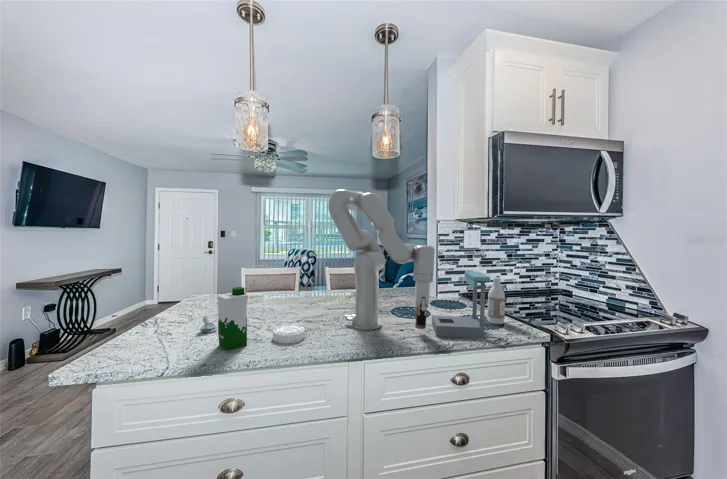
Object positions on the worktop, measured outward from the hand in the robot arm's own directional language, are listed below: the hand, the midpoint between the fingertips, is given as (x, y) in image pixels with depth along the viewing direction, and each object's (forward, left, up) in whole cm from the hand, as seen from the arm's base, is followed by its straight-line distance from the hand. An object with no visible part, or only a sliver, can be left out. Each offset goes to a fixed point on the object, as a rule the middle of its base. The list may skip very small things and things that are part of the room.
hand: (420, 322), depth 121 cm
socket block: (+15, +6, -5) cm, 17 cm away
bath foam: (+35, +20, -5) cm, 40 cm away
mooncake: (-50, -9, -5) cm, 51 cm away
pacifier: (-84, -6, -5) cm, 85 cm away
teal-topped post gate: (+22, +6, -5) cm, 24 cm away
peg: (0, 0, -2) cm, 2 cm away
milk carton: (-67, -19, -5) cm, 70 cm away
